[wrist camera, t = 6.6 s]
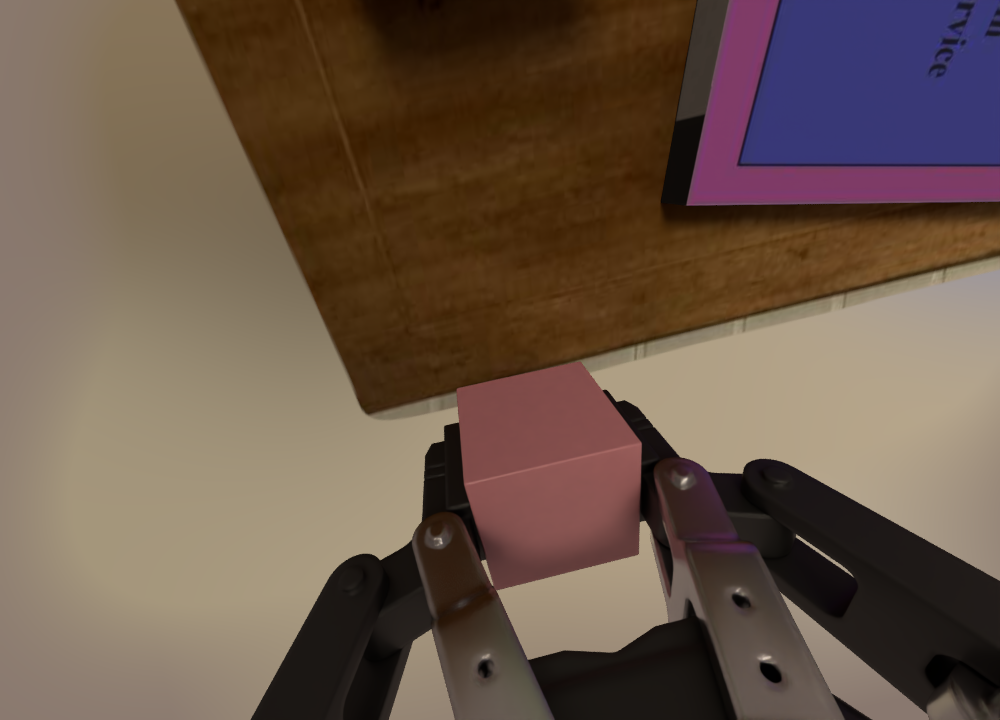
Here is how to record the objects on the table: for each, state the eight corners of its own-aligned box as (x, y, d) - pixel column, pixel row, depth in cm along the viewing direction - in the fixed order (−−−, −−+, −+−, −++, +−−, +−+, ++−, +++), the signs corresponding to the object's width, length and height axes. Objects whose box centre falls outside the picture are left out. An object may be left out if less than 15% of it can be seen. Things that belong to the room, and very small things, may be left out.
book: (816, -416, 13) (1388, -292, 17) (754, -317, 16) (1260, -228, 20) (686, 205, 23) (1071, 200, 26) (660, 202, 25) (1014, 198, 29)
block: (480, 479, 14) (495, 591, 10) (456, 387, 12) (463, 485, 8) (586, 454, 14) (639, 555, 10) (580, 360, 12) (642, 442, 8)
